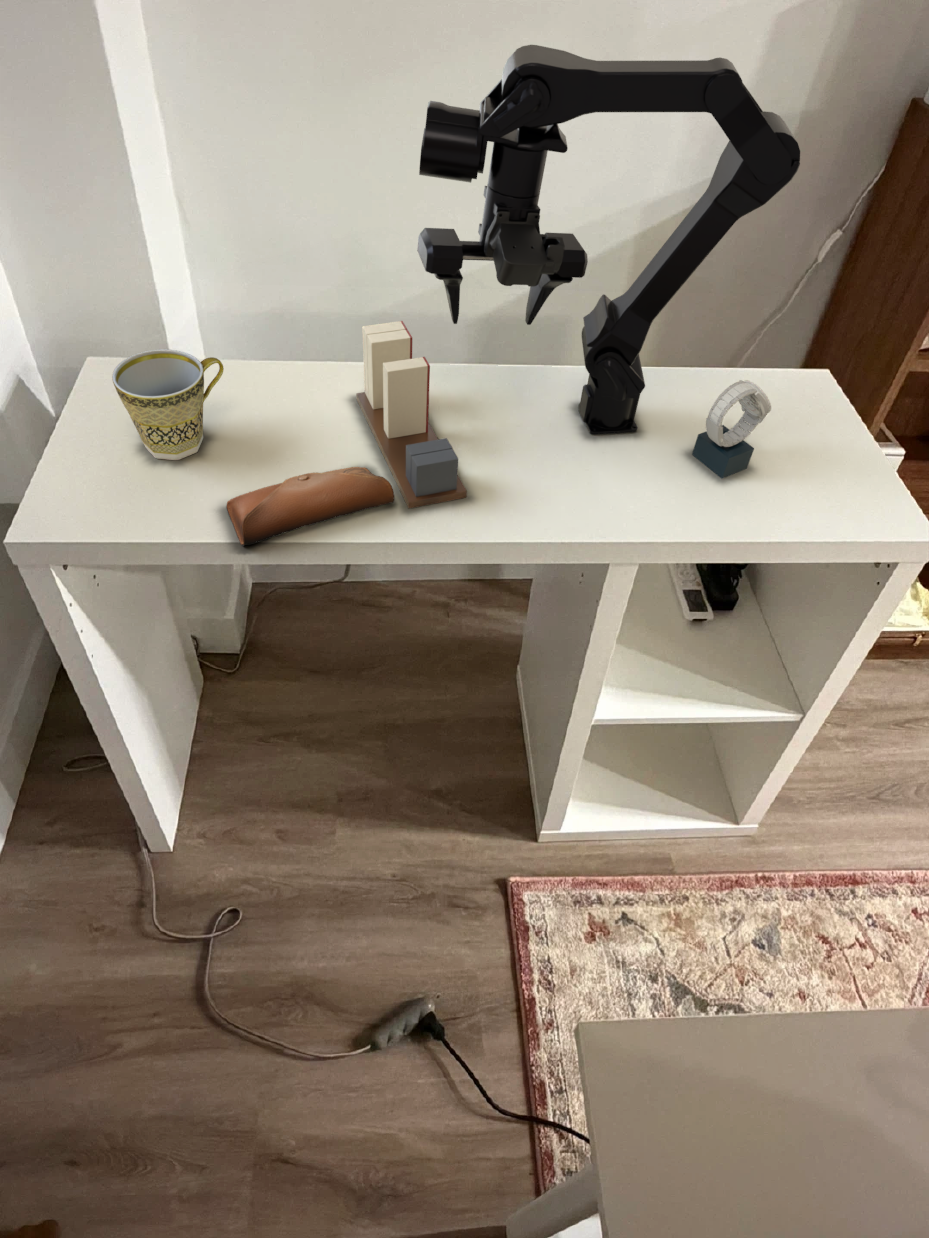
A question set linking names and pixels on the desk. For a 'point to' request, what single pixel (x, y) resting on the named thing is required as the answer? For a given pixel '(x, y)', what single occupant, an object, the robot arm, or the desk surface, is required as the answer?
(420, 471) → the grey books
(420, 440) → the shelf board
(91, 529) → the desk surface
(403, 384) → the white book
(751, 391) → the watch
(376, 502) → the sunglasses case
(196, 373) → the ceramic cup
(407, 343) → the white books
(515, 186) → the robot arm
